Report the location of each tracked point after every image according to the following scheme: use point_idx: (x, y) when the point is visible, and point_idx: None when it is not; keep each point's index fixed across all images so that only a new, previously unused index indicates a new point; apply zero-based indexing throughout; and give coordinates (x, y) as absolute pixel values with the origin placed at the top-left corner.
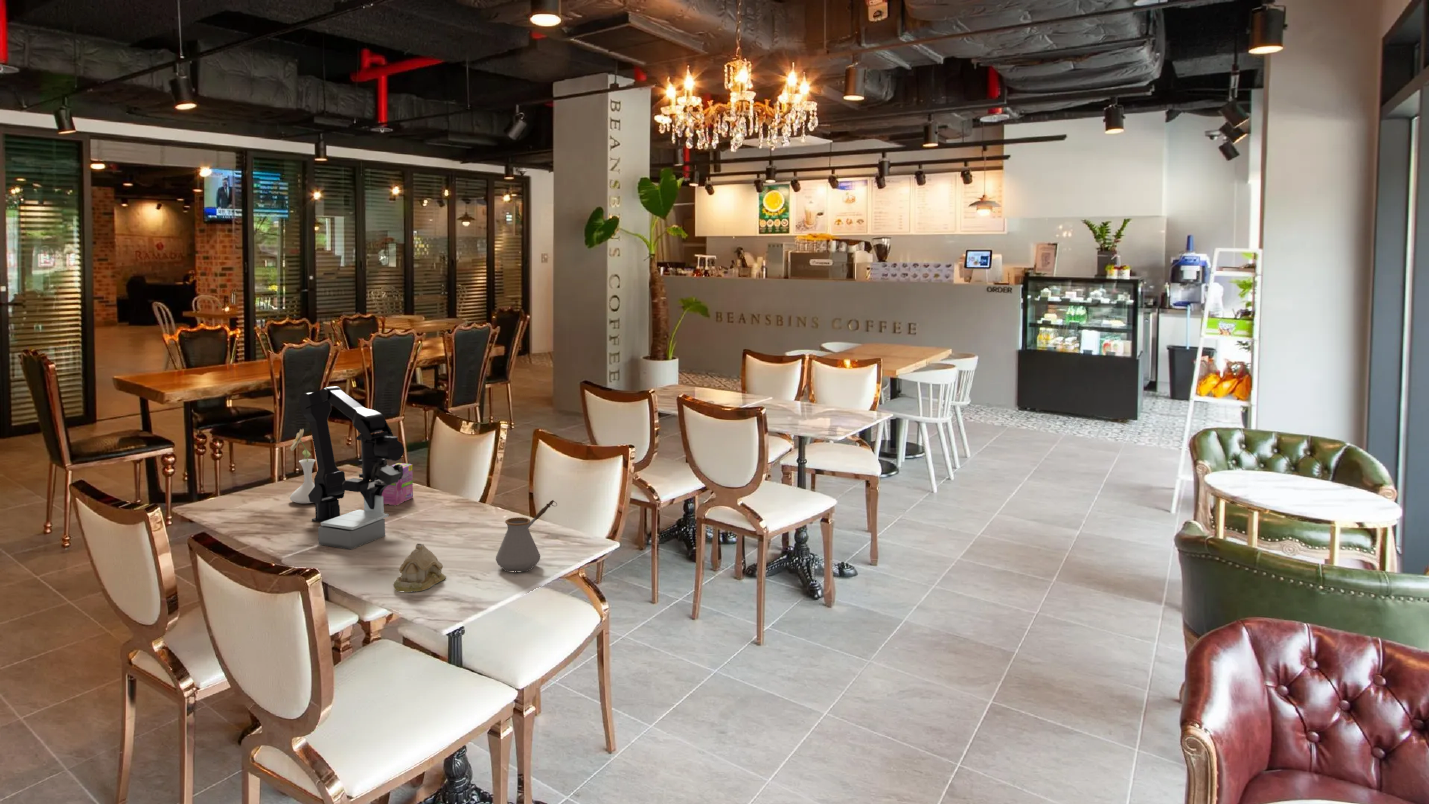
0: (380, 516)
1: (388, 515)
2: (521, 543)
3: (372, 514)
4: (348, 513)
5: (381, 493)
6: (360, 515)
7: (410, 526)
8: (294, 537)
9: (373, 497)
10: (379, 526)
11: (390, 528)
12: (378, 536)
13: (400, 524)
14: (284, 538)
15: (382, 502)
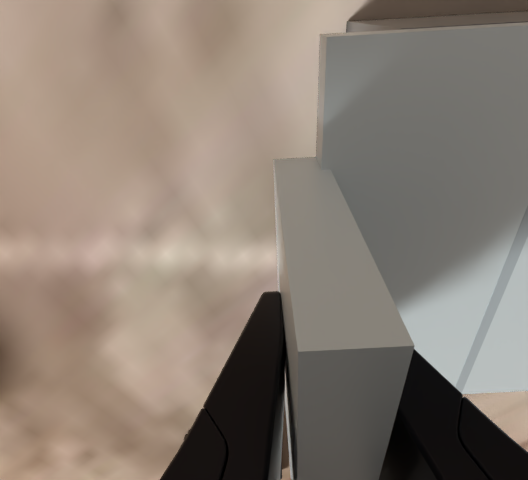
0: (500, 40)
1: (324, 34)
2: None
3: (422, 211)
4: None
5: (194, 468)
6: (487, 284)
7: (16, 17)
8: (496, 404)
9: (447, 425)
10: (470, 20)
11: (169, 136)
12: (441, 16)
13: (49, 143)
14: (514, 418)
15: (311, 250)
